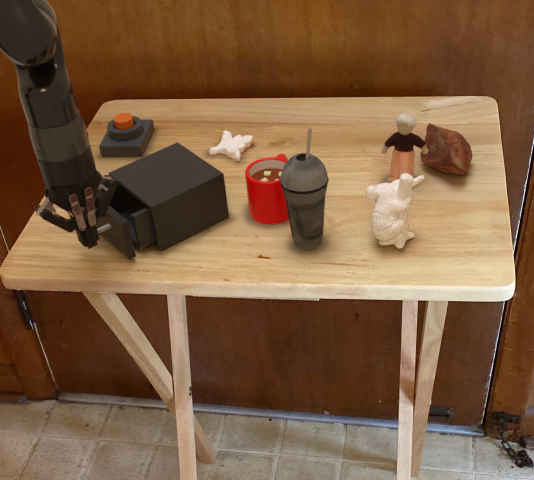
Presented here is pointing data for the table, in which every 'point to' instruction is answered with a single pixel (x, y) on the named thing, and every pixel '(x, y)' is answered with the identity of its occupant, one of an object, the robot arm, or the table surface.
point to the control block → (127, 138)
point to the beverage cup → (305, 197)
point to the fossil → (446, 150)
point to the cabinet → (176, 192)
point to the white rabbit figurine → (392, 210)
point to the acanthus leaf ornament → (232, 145)
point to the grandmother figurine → (403, 147)
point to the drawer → (127, 223)
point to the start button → (123, 121)
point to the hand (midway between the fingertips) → (90, 244)
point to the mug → (266, 190)
